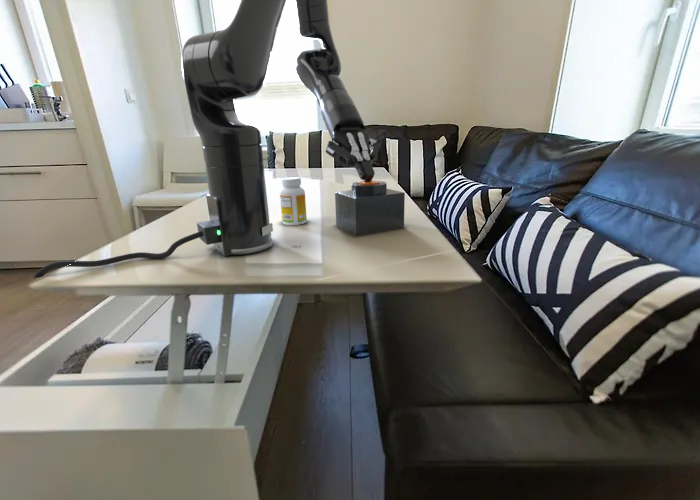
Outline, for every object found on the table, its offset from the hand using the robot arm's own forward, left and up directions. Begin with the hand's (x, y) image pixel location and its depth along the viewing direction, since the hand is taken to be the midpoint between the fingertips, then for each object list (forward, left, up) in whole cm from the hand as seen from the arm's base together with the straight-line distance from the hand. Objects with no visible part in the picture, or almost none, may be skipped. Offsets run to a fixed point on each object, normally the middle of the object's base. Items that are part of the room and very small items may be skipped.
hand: (369, 179), depth 71 cm
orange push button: (0, 0, -3) cm, 3 cm away
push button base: (0, 0, -10) cm, 10 cm away
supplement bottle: (-10, +14, -10) cm, 20 cm away
